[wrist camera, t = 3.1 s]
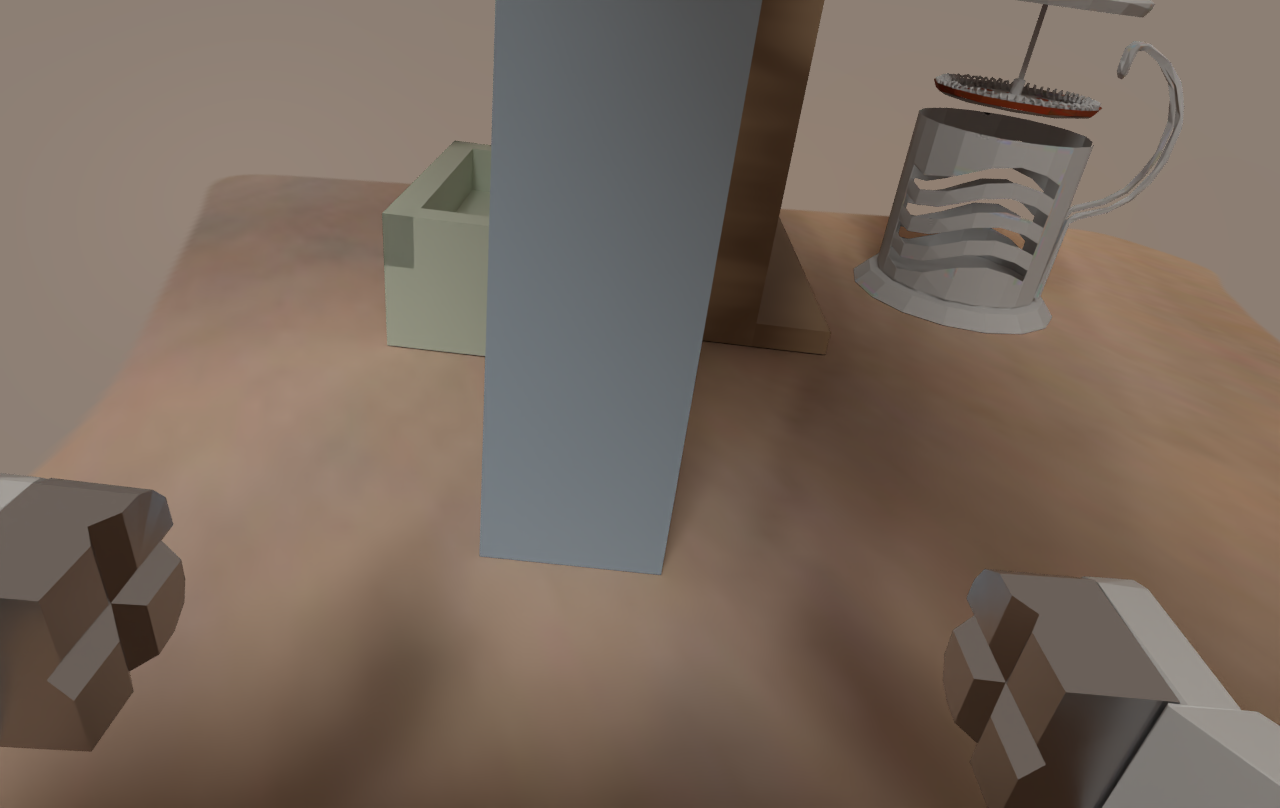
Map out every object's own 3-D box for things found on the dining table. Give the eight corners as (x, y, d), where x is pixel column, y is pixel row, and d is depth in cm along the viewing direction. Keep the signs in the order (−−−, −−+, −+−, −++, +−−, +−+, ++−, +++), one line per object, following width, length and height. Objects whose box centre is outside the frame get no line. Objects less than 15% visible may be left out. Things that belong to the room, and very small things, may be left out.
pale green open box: (387, 344, 29) (382, 212, 26) (453, 244, 38) (454, 140, 36) (638, 373, 29) (656, 246, 27) (642, 267, 39) (655, 166, 36)
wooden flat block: (702, 340, 32) (852, -515, 20) (687, 220, 46) (772, -331, 34) (825, 354, 33) (1044, -482, 21) (774, 230, 46) (887, -313, 35)
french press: (867, 244, 46) (1021, -325, 34) (1083, 294, 43) (1340, -313, 31) (836, 298, 38) (1024, -423, 26) (1100, 365, 35) (1457, -421, 23)
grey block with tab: (479, 555, 20) (501, -191, 12) (515, 428, 25) (546, -153, 18) (660, 575, 20) (788, -149, 13) (659, 444, 25) (749, -123, 18)
